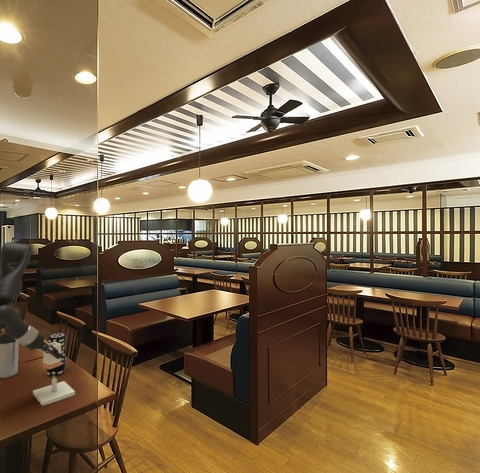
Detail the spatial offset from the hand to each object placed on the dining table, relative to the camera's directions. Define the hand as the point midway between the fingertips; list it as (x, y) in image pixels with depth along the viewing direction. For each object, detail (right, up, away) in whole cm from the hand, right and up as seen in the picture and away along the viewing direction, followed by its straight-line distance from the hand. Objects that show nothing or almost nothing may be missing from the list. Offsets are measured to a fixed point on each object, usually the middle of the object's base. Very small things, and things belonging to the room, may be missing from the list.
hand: (56, 355), depth 140 cm
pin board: (+1, -17, -3) cm, 17 cm away
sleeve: (-1, -4, -2) cm, 5 cm away
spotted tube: (-11, -17, +18) cm, 27 cm away
